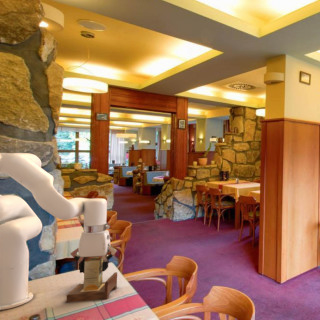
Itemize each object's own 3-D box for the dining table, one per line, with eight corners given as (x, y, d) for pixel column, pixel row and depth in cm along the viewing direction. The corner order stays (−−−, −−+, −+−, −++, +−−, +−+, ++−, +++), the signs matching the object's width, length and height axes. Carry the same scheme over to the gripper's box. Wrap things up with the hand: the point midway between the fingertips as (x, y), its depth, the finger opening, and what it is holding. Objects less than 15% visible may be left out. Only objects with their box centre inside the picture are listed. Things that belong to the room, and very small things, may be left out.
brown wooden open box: (66, 302, 112) (66, 284, 112) (79, 290, 121) (79, 274, 121) (107, 299, 115) (107, 281, 115) (116, 288, 125) (117, 272, 125)
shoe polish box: (102, 284, 121) (103, 256, 121) (98, 289, 117) (99, 260, 117) (88, 285, 120) (89, 257, 120) (83, 290, 115) (84, 261, 115)
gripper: (122, 225, 124) (120, 266, 124) (75, 226, 119) (73, 268, 119) (115, 230, 117) (114, 273, 117) (65, 231, 112) (63, 276, 112)
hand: (93, 270), depth 118 cm, fingers open, 7 cm apart
